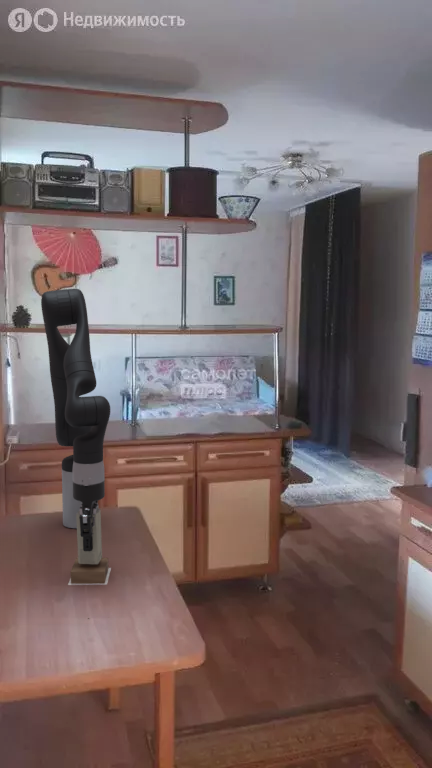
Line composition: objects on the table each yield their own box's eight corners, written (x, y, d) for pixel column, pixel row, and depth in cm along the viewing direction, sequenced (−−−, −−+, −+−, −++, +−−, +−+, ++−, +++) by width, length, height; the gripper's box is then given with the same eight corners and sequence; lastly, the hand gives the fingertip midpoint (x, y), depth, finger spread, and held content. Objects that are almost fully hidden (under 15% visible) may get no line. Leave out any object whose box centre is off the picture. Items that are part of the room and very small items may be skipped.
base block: (76, 569, 166) (76, 557, 165) (108, 569, 166) (108, 557, 166) (70, 583, 158) (70, 571, 158) (104, 583, 158) (104, 571, 158)
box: (102, 558, 164) (102, 508, 162) (97, 565, 159) (97, 514, 157) (81, 556, 164) (81, 507, 162) (76, 564, 160) (75, 513, 158)
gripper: (77, 470, 165) (78, 535, 168) (67, 487, 151) (68, 558, 154) (107, 470, 166) (108, 535, 168) (100, 487, 152) (101, 558, 154)
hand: (89, 546), depth 161 cm, fingers closed on box, 4 cm apart
